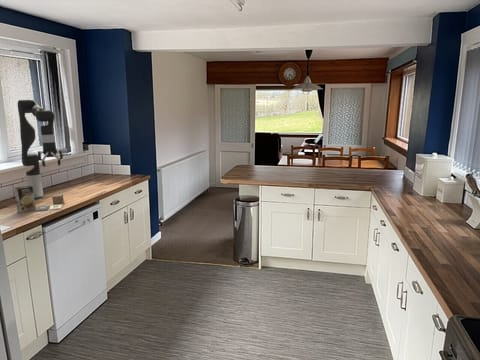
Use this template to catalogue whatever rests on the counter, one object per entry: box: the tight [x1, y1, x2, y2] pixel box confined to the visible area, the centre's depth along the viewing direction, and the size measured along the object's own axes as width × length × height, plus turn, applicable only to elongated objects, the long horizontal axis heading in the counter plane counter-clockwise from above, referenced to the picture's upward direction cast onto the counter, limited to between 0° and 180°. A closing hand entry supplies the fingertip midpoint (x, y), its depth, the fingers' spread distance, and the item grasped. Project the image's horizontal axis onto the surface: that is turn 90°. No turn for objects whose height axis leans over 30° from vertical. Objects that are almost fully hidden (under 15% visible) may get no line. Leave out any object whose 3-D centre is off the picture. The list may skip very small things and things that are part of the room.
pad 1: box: [34, 204, 51, 213], centre depth 238 cm, size 10×7×1 cm
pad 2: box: [48, 203, 64, 211], centre depth 241 cm, size 10×7×1 cm
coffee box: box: [14, 185, 37, 214], centre depth 234 cm, size 9×6×16 cm
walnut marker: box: [51, 193, 65, 205], centre depth 251 cm, size 6×6×6 cm
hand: (51, 166), depth 234 cm, fingers open, 8 cm apart
